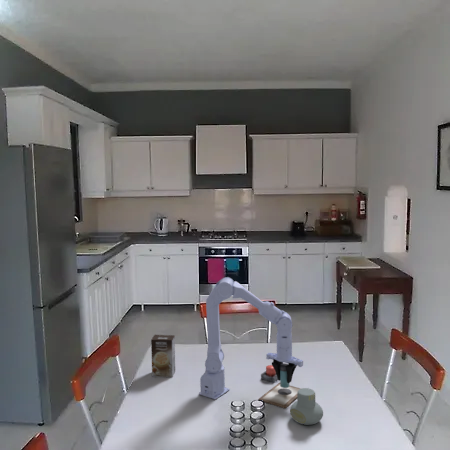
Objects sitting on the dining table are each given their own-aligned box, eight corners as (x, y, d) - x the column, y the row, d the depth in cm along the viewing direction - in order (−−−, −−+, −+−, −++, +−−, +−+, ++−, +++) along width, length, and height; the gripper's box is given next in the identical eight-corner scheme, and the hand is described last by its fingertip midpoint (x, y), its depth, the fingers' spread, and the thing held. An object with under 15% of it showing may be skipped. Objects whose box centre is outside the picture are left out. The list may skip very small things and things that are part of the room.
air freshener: (285, 417, 149) (285, 389, 148) (302, 410, 154) (302, 382, 153) (310, 431, 140) (310, 401, 139) (327, 422, 145) (327, 393, 144)
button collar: (273, 382, 176) (273, 377, 176) (261, 379, 179) (260, 374, 179) (281, 377, 181) (281, 372, 180) (268, 373, 184) (268, 369, 184)
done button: (272, 377, 177) (272, 370, 177) (264, 375, 179) (264, 367, 179) (277, 374, 180) (277, 366, 180) (269, 371, 183) (269, 364, 182)
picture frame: (285, 408, 155) (285, 406, 155) (258, 400, 161) (258, 398, 161) (304, 391, 168) (304, 389, 168) (279, 384, 174) (279, 382, 174)
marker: (286, 388, 164) (286, 368, 163) (278, 386, 166) (278, 365, 165) (291, 385, 166) (291, 364, 166) (282, 382, 169) (282, 362, 168)
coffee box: (151, 377, 183) (150, 339, 182) (155, 370, 190) (154, 334, 188) (172, 377, 182) (171, 339, 181) (176, 371, 189) (175, 334, 187)
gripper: (306, 346, 164) (306, 381, 165) (272, 339, 172) (273, 372, 173) (298, 352, 158) (298, 388, 159) (263, 344, 166) (263, 379, 168)
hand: (284, 380), depth 166 cm, fingers closed on marker, 3 cm apart
